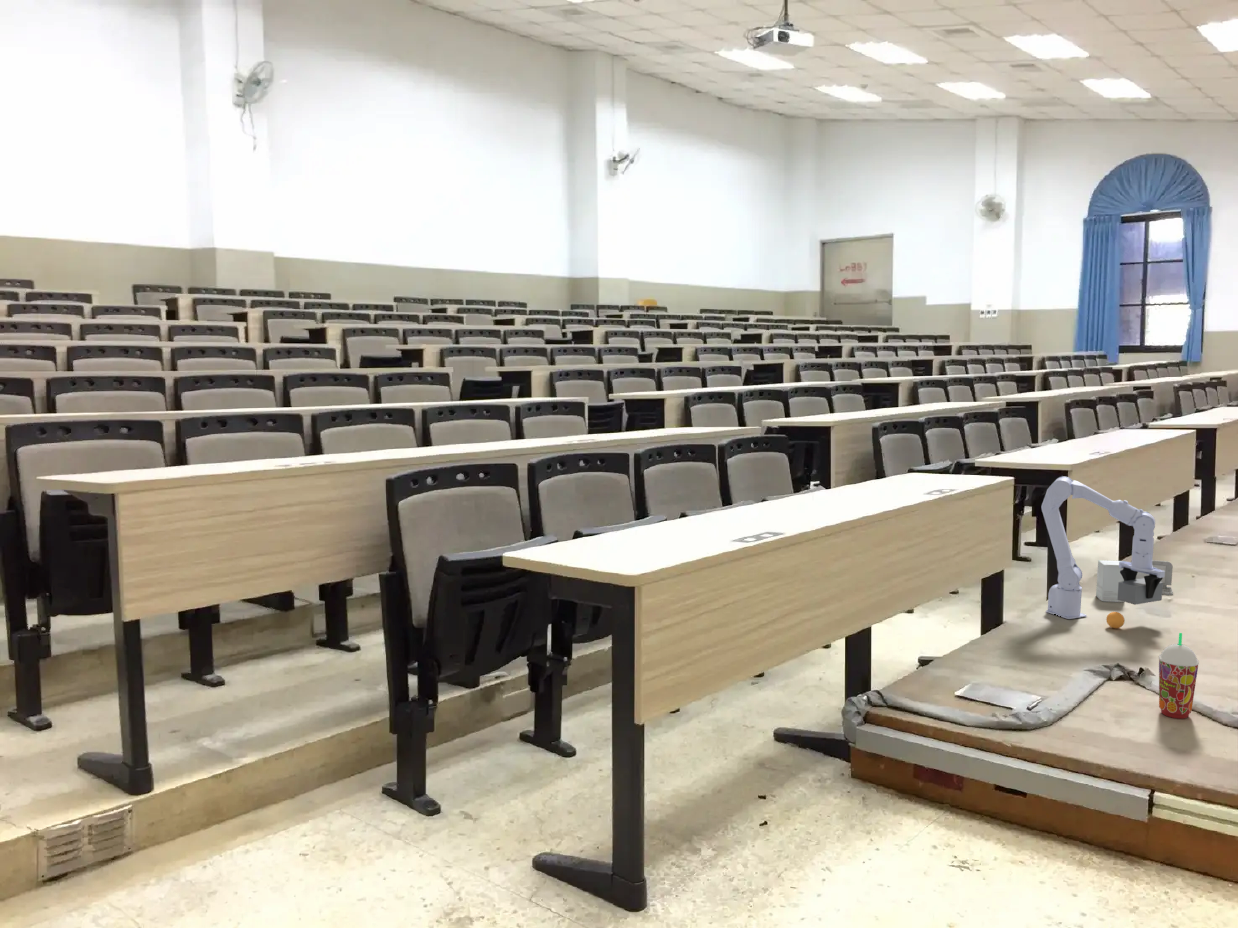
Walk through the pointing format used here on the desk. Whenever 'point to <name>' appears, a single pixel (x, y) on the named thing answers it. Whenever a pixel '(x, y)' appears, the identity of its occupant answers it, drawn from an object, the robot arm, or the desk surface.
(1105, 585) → the supplement box
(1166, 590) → the handheld gaming console
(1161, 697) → the smoothie
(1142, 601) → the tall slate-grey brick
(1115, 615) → the ball
